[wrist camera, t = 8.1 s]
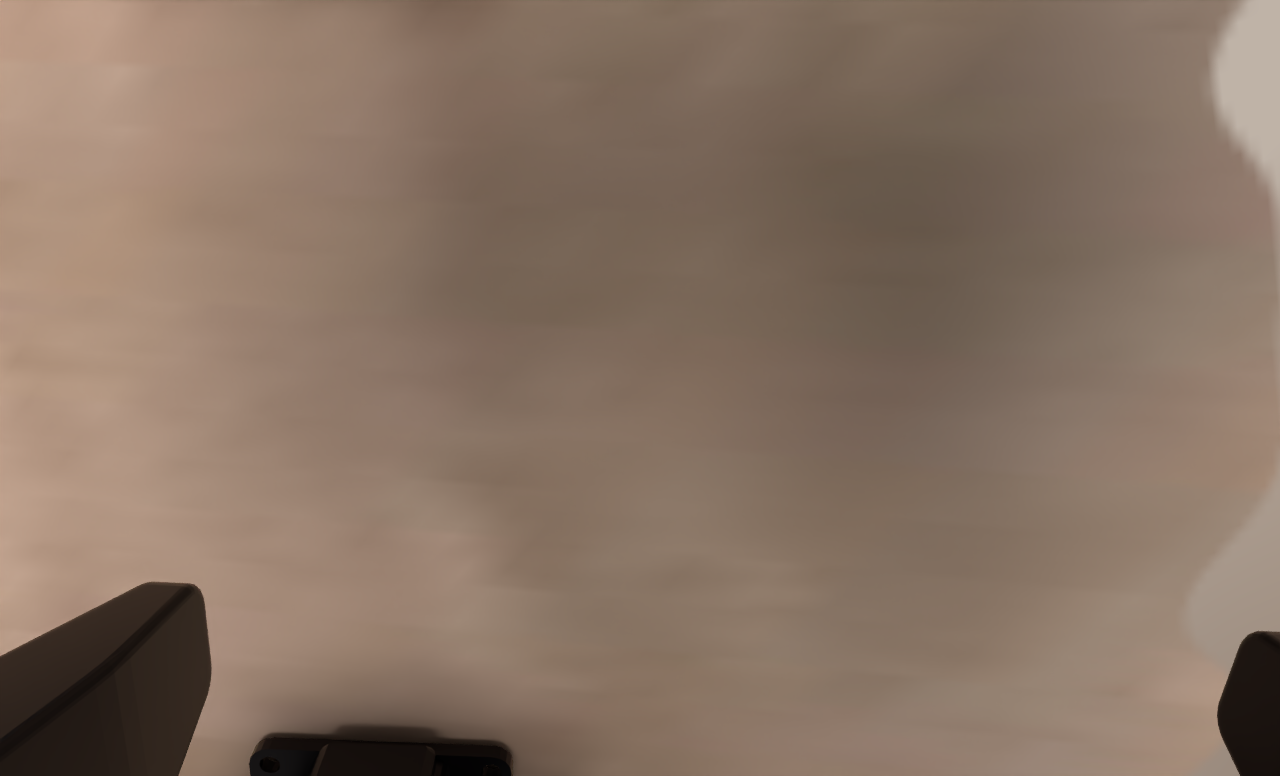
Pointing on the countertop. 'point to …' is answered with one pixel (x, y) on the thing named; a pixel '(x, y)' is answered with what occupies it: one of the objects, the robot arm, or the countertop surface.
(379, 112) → the countertop surface
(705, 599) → the countertop surface
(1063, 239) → the countertop surface
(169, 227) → the countertop surface
